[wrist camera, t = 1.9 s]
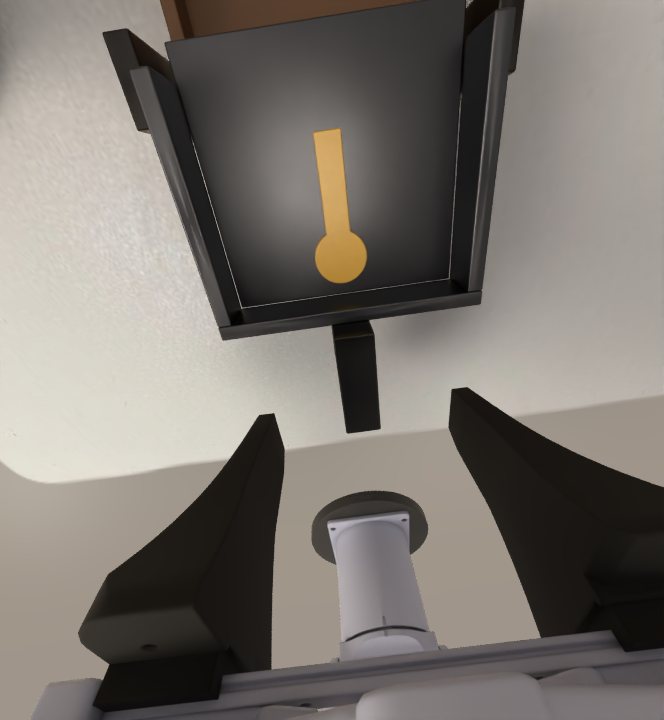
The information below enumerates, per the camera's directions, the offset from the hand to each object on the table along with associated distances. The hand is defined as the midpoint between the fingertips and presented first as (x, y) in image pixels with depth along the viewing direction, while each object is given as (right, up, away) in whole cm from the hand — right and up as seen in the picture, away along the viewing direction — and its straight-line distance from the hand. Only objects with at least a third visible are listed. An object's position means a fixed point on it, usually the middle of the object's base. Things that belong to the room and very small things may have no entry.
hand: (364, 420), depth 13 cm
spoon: (-1, +8, 0) cm, 9 cm away
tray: (-4, +30, -9) cm, 32 cm away
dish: (-1, +7, +1) cm, 7 cm away
